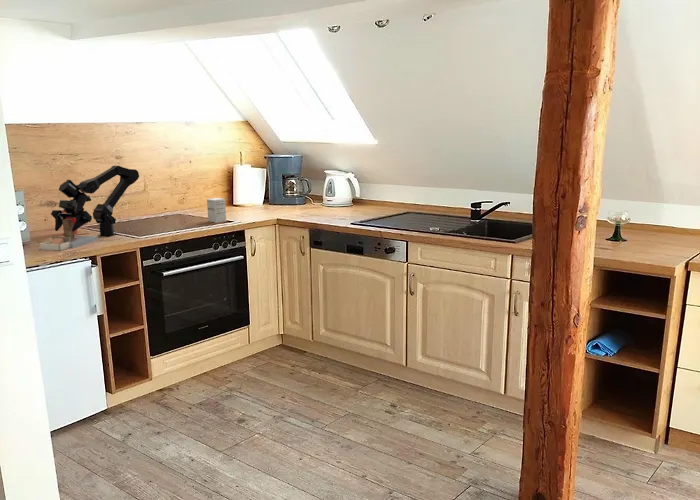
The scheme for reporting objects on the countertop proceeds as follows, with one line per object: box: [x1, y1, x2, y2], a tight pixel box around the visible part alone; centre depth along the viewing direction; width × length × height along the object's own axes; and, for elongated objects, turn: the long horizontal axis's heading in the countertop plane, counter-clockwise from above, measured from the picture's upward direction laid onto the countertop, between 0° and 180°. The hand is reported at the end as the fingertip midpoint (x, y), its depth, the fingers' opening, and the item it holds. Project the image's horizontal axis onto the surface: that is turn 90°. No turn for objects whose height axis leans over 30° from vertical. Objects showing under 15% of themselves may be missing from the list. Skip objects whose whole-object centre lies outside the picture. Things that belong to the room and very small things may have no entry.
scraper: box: [52, 219, 77, 243], centre depth 286 cm, size 7×9×10 cm
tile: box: [51, 238, 65, 244], centre depth 281 cm, size 4×4×2 cm
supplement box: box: [206, 197, 227, 224], centre depth 341 cm, size 7×7×13 cm
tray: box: [38, 240, 71, 252], centre depth 279 cm, size 6×11×3 cm, turn 75°
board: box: [50, 235, 98, 249], centre depth 291 cm, size 17×14×2 cm
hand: (64, 230), depth 285 cm, fingers open, 9 cm apart
